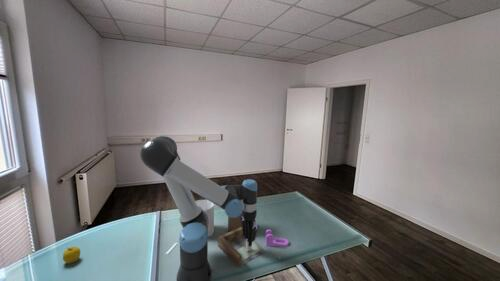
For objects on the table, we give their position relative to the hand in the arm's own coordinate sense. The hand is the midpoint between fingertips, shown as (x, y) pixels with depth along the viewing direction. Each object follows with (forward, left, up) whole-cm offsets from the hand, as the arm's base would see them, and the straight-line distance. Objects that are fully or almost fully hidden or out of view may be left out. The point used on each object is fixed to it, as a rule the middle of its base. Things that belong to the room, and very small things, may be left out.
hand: (248, 250), depth 105 cm
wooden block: (+7, +20, -1) cm, 21 cm away
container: (-12, +31, -1) cm, 33 cm away
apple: (-73, +46, -1) cm, 87 cm away
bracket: (+18, -5, -1) cm, 18 cm away
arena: (0, 0, -1) cm, 1 cm away
